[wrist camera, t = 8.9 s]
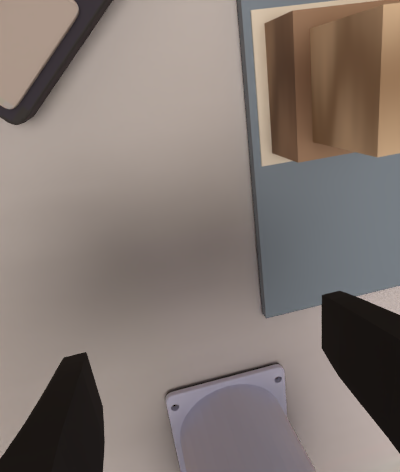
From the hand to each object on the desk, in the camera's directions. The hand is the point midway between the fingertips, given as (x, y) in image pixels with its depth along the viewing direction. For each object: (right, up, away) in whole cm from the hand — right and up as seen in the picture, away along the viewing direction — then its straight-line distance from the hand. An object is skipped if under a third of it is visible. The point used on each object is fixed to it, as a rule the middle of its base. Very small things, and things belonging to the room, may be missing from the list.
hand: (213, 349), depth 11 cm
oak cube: (+6, +10, +5) cm, 13 cm away
